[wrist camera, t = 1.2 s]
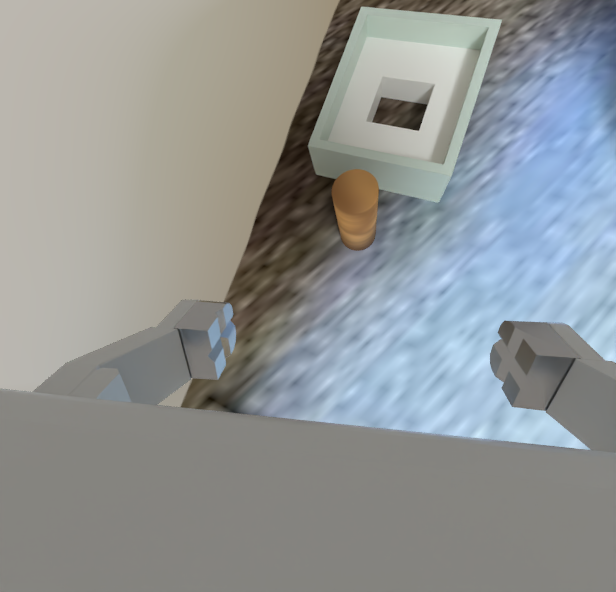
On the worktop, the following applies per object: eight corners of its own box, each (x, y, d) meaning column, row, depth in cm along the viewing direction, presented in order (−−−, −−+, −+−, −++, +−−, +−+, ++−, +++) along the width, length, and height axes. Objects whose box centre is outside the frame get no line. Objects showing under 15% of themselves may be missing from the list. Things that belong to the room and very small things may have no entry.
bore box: (362, 52, 41) (361, 6, 35) (482, 67, 37) (501, 19, 32) (315, 174, 39) (307, 145, 33) (438, 203, 35) (451, 176, 30)
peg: (361, 211, 37) (359, 160, 27) (382, 236, 36) (388, 192, 26) (334, 231, 37) (322, 188, 27) (354, 257, 36) (349, 221, 26)
